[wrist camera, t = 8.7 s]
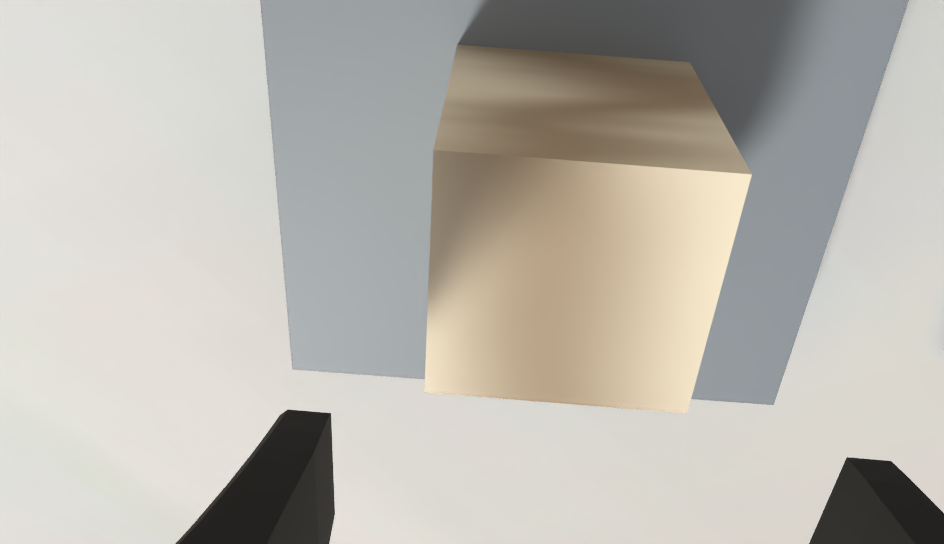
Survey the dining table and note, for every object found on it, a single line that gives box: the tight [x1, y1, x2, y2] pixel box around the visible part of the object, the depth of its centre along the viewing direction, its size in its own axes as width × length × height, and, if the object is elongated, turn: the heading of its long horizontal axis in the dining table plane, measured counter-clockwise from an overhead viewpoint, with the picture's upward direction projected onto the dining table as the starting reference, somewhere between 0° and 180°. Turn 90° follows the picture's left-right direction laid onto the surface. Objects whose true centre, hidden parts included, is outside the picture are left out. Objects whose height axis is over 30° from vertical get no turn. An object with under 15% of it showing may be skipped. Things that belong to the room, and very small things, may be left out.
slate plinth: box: [260, 0, 909, 405], centre depth 18 cm, size 12×12×2 cm
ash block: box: [424, 45, 752, 413], centre depth 15 cm, size 4×4×5 cm
